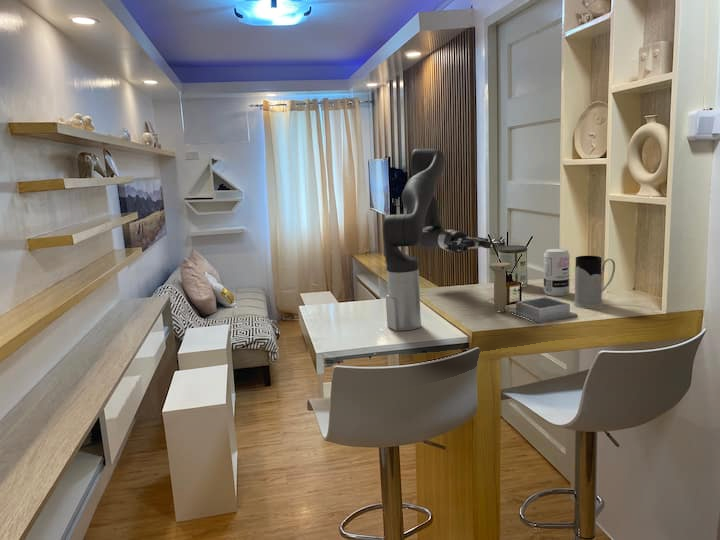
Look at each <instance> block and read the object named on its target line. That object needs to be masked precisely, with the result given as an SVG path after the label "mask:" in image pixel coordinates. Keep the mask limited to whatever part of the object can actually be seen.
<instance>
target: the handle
mask: <svg viewBox="0 0 720 540" xmlns="http://www.w3.org/2000/svg"><path fill="white" fill-rule="evenodd" d="M488 267H489V270H491V271H493V272H494V273H493V274H494V281H493V301H494V306H495V308H494V310H496V311H495V312H497V311H500V312H499V313H505V312H506V311H507V303H508V291H507V289H508V288H507V287H506V271H507V270H508V269H510V267H511V264H510V263H499V262H495V263H494V262H493V263H489V264H488ZM504 311H505V312H504Z"/></svg>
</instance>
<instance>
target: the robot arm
mask: <svg viewBox="0 0 720 540" xmlns="http://www.w3.org/2000/svg"><path fill="white" fill-rule="evenodd" d="M444 167H445V154H444V152H443V151H442V150H441V149H438V148H414V149H413V150H412V152H411V155H410V172H411V177H410V178H409V179H408V180H407V182H406V184H405V185H404V189H403V190H402V193H401V201H402V204H403V206H404V208H405V209H406V210H407V211H408V214H407V213H401V214H398V213H397V214H387V215H386V216H385V217H384V219H383V221H382V237H383V244H384V246H383V247H384V257H385V258H384V259H385V264H386V277H387V282H386V283H387V295H385V306H386V307H385V308H386V323H387V324H386V326H387V327H388V328H390V329H391V330H394V331H395V332H398V331H413V330H417V329H419V328H421V327H422V318H421V299H420V298H421V295H420V275H419V274H420V273H419V272H420V271H419V260H418V259H417V258H416V257H413V256H410V255H408V254H406V253H404V252H403V251H402V250H401V249H400V248H399V247H414V246H417V245H419V246H420V247H422V248H424V249H436V248H440V249H443V250H445V251H447V252H452V253H454V254H462V253H463V252H464V253H466V252H469V251H468V250H470V249H472V250H473V249H474V250H475V249H476V250H477V249H478V248H483V249H491V247H492V246H491V245H492V243H491V241H489V238H488V237H487V238H485V237H479V236H476V237H471V236H468V235H467V234H466V233H465V232H464V231H460V230H454V229H446V228H444V227H443V225H442V223H441V222H442V221H441V220H440V219H441V218H440V213H439V209H440V208H439V202H438V200H437V197H436V196H435V194H434V192H435V189H436V186H437V183H438V182H439V179H440V177H441V175H442V173H443V171H444ZM474 245H475V246H474Z"/></svg>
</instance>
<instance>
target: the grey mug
mask: <svg viewBox="0 0 720 540" xmlns="http://www.w3.org/2000/svg"><path fill="white" fill-rule="evenodd" d="M608 261H610V262H612V271H611V276H610V278H609V280H608V281H607V283H606V284H605V285H604V286H603V282H602V281H603V273H605V266H606V263H607V262H608ZM615 271H616V263H615V260H613V258H612V259H611V258H606V259H605V260H604V261H603V262H602V257H601V256H598V255H580V256H576V257H575V266H574V302H573V304H572V305H573V306H574V307H576V308H581V309H599V308H602V307H604V304H603V302H602V294H603V292H604V290H606V289H607V287H608V286H609V285H610V284H611V282H612V280H613V278H614V276H615Z"/></svg>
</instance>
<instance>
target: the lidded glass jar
mask: <svg viewBox="0 0 720 540" xmlns="http://www.w3.org/2000/svg"><path fill="white" fill-rule="evenodd" d="M524 249H525V250H524ZM497 251H498V260H499V259H500V261H501V263H510V264H511V267H510V269H508V270H507V274H511V272H512V270H513V268H514V266H515V264H516V262H517V261H518V259H519V257H520V256H521V254H522V256H521V257H520V259H519V261H518V263H517V264H516V266H515V268H514V270H513V272H512V279H513V280H514V281H519V282H523V284H522V288H526V287H528V285H529V284H528V246H525V245H518V244H517V245H503V246H499V247H498V248H497ZM523 251H524V252H523ZM498 263H500V262H499V261H498ZM522 288H521V289H522Z"/></svg>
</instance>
